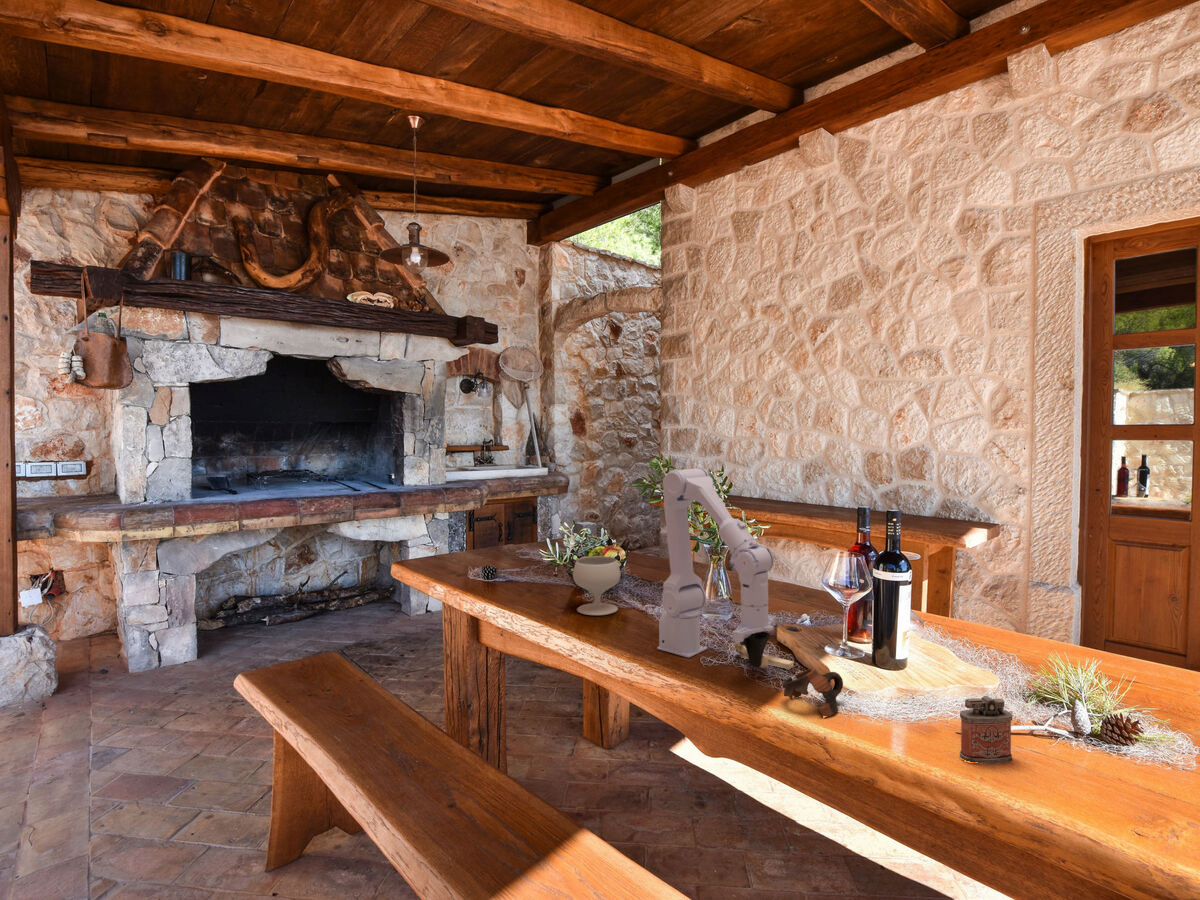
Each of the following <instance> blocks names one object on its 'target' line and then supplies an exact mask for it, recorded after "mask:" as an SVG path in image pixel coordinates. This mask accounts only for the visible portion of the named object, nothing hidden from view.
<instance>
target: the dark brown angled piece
mask: <svg viewBox="0 0 1200 900" xmlns="http://www.w3.org/2000/svg"><path fill="white" fill-rule="evenodd" d="M795 678H796V679H793V678H792V677H788V678H787V679H786V680H785V681H783V682H782V684H781V685H782V687H783V689H784V691H783V696H784V697H788V698H789V699H790V700H793V698H795V697H798V698H800V697H801V696H802V695H805V696H807V695H809V692H808V690H809V689H808V688H809V684H811V686H812V687H813V690H815V691H816V692H817V693H818V694H822V696H823V698H824V699H825V702H824V703H823V704H822V705H820V706H819V707H818V710H819V712H820V713H821V716H827V718H829V717H831V716H832V715H835V713H837V712H838V711H839V708H838V703H837V697H838V696H839V695H840V694H841V691H842V690H843V686H844V681H843V678H842V676H841V675H840V674H839V673H838V672H836V671H831V672H826V673H825V674H820V673H818V671H817V669H816V668H814V667H813V668H809V669H806V670H803V671H801V672H799V673H797V674H795ZM832 680H833V683H834V685H833V686H832V685H831V682H832ZM799 696H800V697H799ZM828 716H829V717H828Z"/></svg>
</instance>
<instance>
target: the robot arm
mask: <svg viewBox="0 0 1200 900" xmlns="http://www.w3.org/2000/svg"><path fill="white" fill-rule="evenodd" d="M662 486H663V496H664V497H663V506H664V507H663V508H664V518H665V527H666V537H667V547H668V557H669V558H668V559H669V566H670V567H669V569H670V575H668V578H667V579H666V580H665V581H664V582H663V585H662V586H663V588H662V589H663V591H662V596H661V597H662V598H661V603H662V607H663V609H664V611H663V612H662V613H661V615H660V617H659V623H658V630H659V631H658V635H659V639H658V645H659V646H657V650H660V651H664V652H667V653H671V654H673V655H674V654H675V655H677V656H681V657H685V658H688V659H689V658H691V657H693V656H695V655H697V654H700V653H702V652H704V651H706V650H707V649H708V647H707V646H706V645H702V644H701V638H700V637H701V636H700V635H701V633H700V625H701V624H700V621H701V620H700V619H701V618H700V614H701V613H702V609H703V608H704V607H705V605H706V603H707V594H706V592H705V589H704V587H703V580H702V578H701V577H699V576H698V575H697V574H695V572H694V565H693V555H692V553H693V552H692V544H691V542H692V541H691V535H690V523H689V515H688V507H689V506H690V505H691V504H692V502H698V503H700V505H701V506H702V507H703V509H704V510H705V511H706V512H707V513H708V515H709V516H710V517H711V518H712V520H713V521H714V522H715V523H716V524H717V525H718V526H719V527H718V528H719V530H718V535H719V537H720V538H721V540H722V542H723V543H724V544H725V546H726V547H727V548H728V550H729V552H731V554H732V556H733V557H734V558H735V560H733V563H734V568H735V570H736V572H737V573H738V581H739V583H740V623H738V625H737V627H736V629H735V630H733V631H732V641H734V642H739V643H740V642H743V643H744V645H745V647H746V650H747V653H748V658H749V660H748V664H749V666H751V667H753V668H754V667H755V668H757V669H759V668H761V667H760V666H761V663H762V656H763V654H764V652H765V648H766V645H767V643H768V642H769V640H770V639H771V634H770V633H769V632H771V631H773V630H774V627H775V626H776V616H773V615H769V572H770V571H771V570H772V568H773V567H774V557H773V554H772V551H770V548H769V547H768V546H766V545H762V544H760V542H758V541H757V540H755V538H754V537H753V536H752V534H751V533H750V531H749V530H748V529H747V525H746V523H745V522H744V521H741V520H740V519H739V518H734V517H732V515H731V514H730V512H729V510H728V508H727V507H726V506H725V504H724V502H723V501H722V499H721V498H720V496H719V493H717V491H716V490H715V488H714V479H713V478H712V477H711V476H710V474H709V472H708V471H707V470H706V469H705V468H704V467H695V468H688V469H684V468H683V469H671V470H669V471H668V472H667V474H666V475H665V476H664V478H663V479H662ZM766 631H767V632H766Z"/></svg>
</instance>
